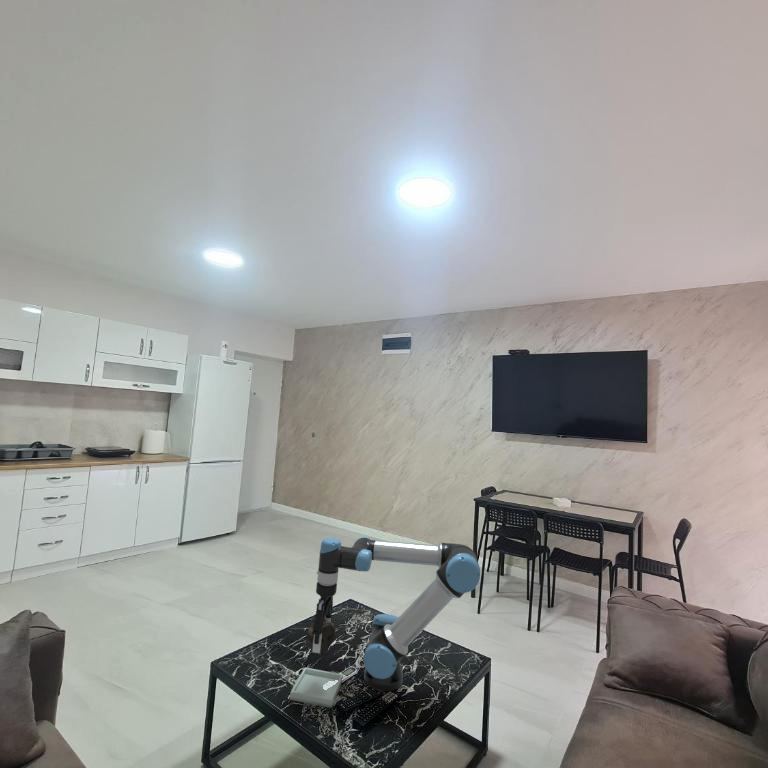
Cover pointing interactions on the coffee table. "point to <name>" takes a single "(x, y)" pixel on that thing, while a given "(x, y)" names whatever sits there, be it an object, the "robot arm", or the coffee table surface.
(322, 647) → the alarm clock
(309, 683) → the tray
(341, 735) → the coffee table surface
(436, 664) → the coffee table surface
